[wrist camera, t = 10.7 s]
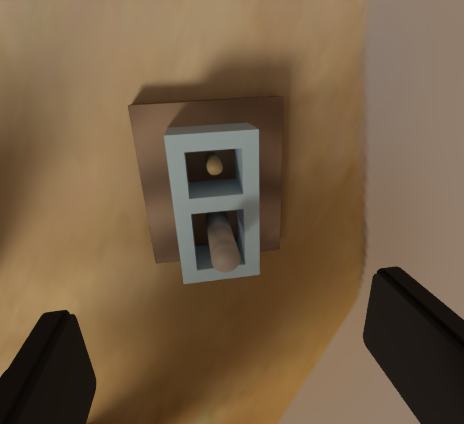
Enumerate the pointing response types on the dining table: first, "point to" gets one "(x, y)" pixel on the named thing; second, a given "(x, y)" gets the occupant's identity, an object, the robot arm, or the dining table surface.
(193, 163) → the post block
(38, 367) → the robot arm
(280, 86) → the dining table surface
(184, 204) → the hollow blue brick
